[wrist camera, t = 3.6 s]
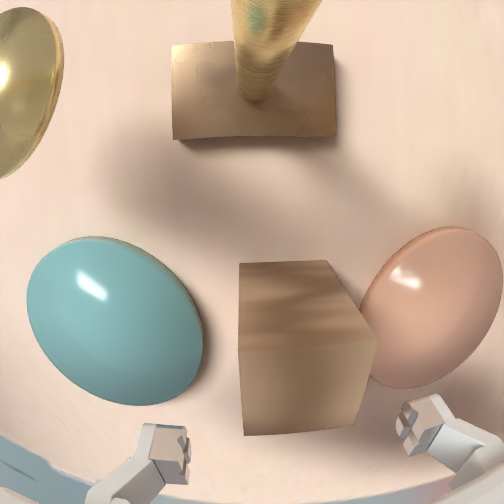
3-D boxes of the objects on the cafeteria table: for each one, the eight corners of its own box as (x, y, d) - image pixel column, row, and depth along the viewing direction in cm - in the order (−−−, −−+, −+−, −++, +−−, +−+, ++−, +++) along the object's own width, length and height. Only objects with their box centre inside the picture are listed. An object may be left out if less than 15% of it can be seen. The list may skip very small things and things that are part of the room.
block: (325, 259, 18) (377, 340, 10) (319, 331, 19) (354, 424, 12) (239, 263, 17) (238, 351, 10) (242, 335, 19) (243, 435, 12)
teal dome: (192, 231, 17) (189, 237, 16) (212, 398, 21) (211, 410, 20) (17, 241, 16) (7, 247, 15) (66, 385, 21) (61, 394, 20)
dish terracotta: (507, 227, 17) (517, 232, 16) (467, 363, 22) (473, 370, 20) (368, 226, 17) (376, 232, 16) (342, 390, 21) (346, 401, 20)
